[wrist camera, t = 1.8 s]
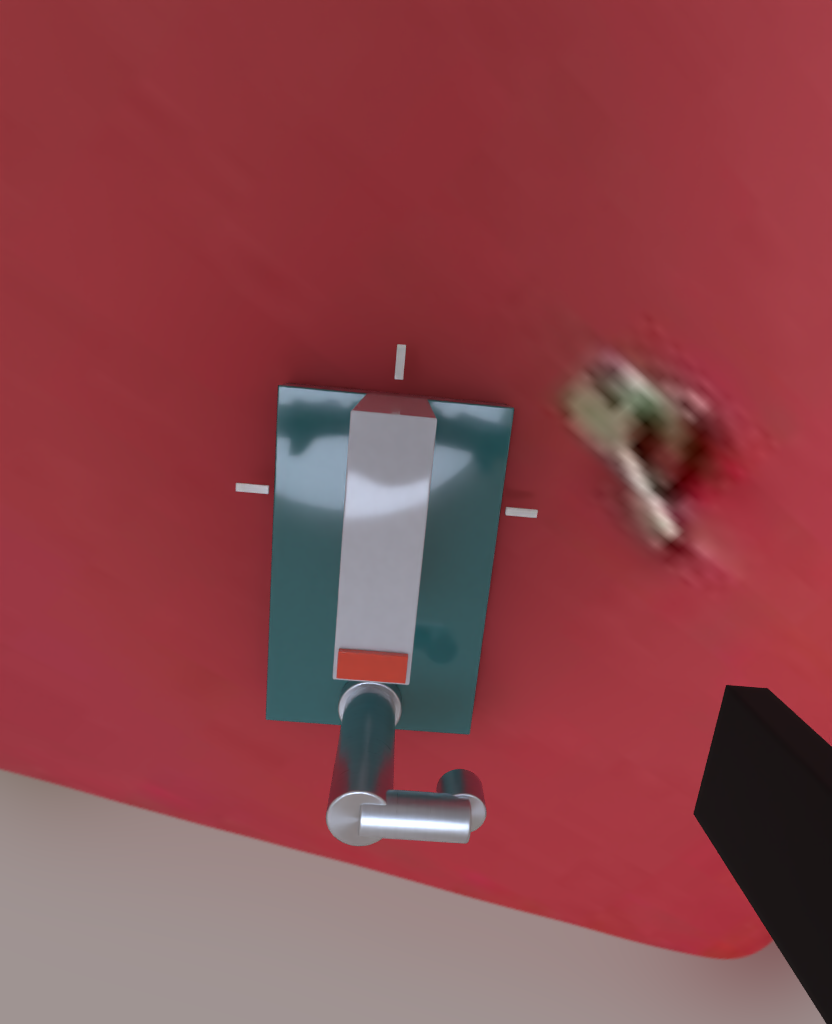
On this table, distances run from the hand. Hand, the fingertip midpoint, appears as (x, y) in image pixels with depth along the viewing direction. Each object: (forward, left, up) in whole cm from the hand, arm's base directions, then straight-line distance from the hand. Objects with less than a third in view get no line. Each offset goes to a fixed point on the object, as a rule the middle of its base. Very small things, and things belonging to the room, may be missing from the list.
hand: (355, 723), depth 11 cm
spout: (+3, +10, -16) cm, 19 cm away
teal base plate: (+1, +2, -18) cm, 18 cm away
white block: (0, 0, -16) cm, 16 cm away
